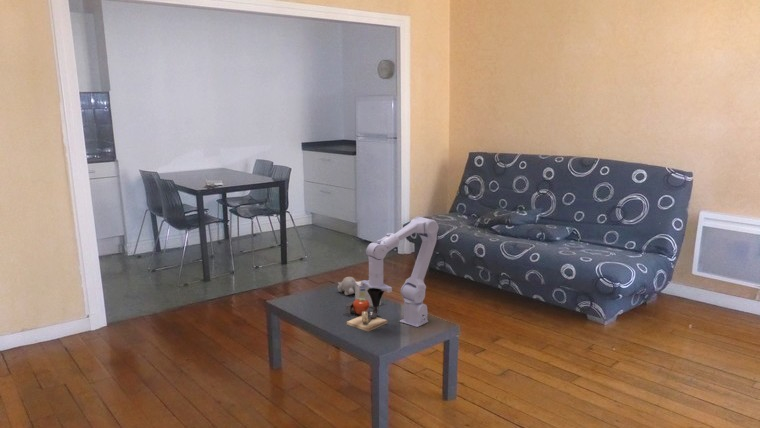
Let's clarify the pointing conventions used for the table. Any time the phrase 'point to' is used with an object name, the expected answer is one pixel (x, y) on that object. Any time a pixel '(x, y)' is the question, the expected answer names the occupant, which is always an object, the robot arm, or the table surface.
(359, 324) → the board
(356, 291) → the light bulb box
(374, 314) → the lever
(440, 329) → the table surface
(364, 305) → the tomato
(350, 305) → the anvil
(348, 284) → the round bodied animal figurine
